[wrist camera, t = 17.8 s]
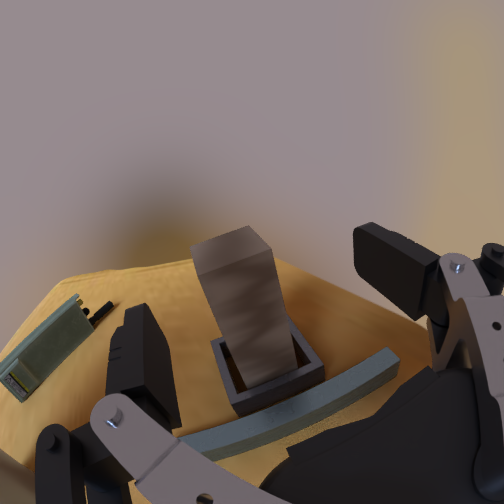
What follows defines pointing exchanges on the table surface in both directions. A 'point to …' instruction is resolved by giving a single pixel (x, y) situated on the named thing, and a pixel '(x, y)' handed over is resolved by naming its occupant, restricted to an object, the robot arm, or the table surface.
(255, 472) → the table surface
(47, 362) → the handheld radio
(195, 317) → the table surface
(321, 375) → the keeper
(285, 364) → the block
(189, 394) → the table surface
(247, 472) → the table surface
